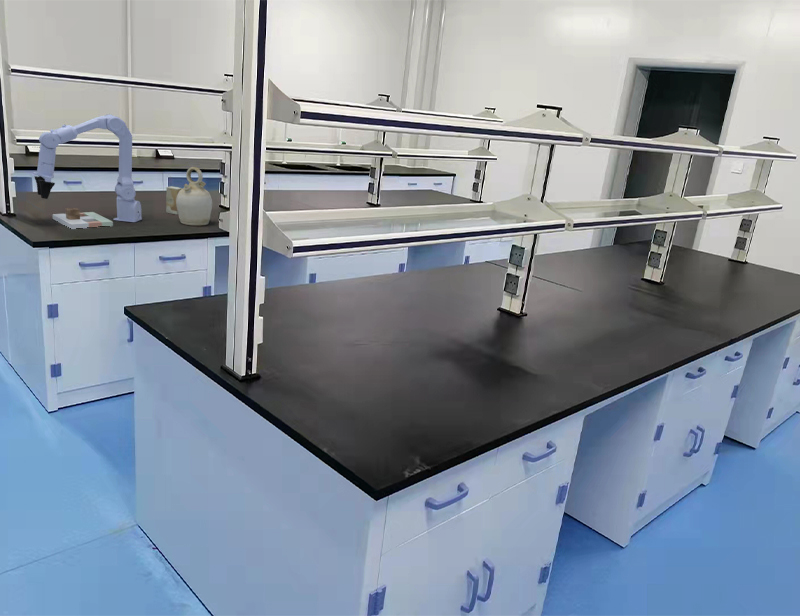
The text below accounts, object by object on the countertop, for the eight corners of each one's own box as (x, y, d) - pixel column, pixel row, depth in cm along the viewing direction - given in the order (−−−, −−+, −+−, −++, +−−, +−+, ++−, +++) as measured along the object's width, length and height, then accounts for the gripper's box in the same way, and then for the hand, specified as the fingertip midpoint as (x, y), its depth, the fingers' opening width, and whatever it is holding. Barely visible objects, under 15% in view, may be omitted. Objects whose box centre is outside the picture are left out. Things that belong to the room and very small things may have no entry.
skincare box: (165, 212, 297) (165, 186, 293) (171, 211, 301) (171, 185, 297) (177, 214, 296) (177, 188, 292) (183, 213, 300) (183, 187, 296)
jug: (197, 217, 294) (197, 163, 286) (219, 224, 286) (219, 168, 278) (169, 221, 282) (168, 164, 274) (191, 228, 274) (190, 170, 266)
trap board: (93, 216, 275) (93, 211, 275) (113, 226, 263) (112, 221, 262) (52, 218, 264) (52, 214, 263) (71, 229, 251) (70, 224, 250)
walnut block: (76, 217, 263) (75, 207, 261) (80, 219, 260) (79, 209, 259) (66, 217, 260) (65, 208, 258) (69, 219, 257) (69, 210, 256)
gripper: (31, 158, 253) (28, 191, 256) (38, 163, 243) (34, 198, 246) (51, 161, 258) (47, 194, 261) (58, 167, 247) (54, 201, 250)
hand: (42, 196), depth 254 cm, fingers open, 7 cm apart
